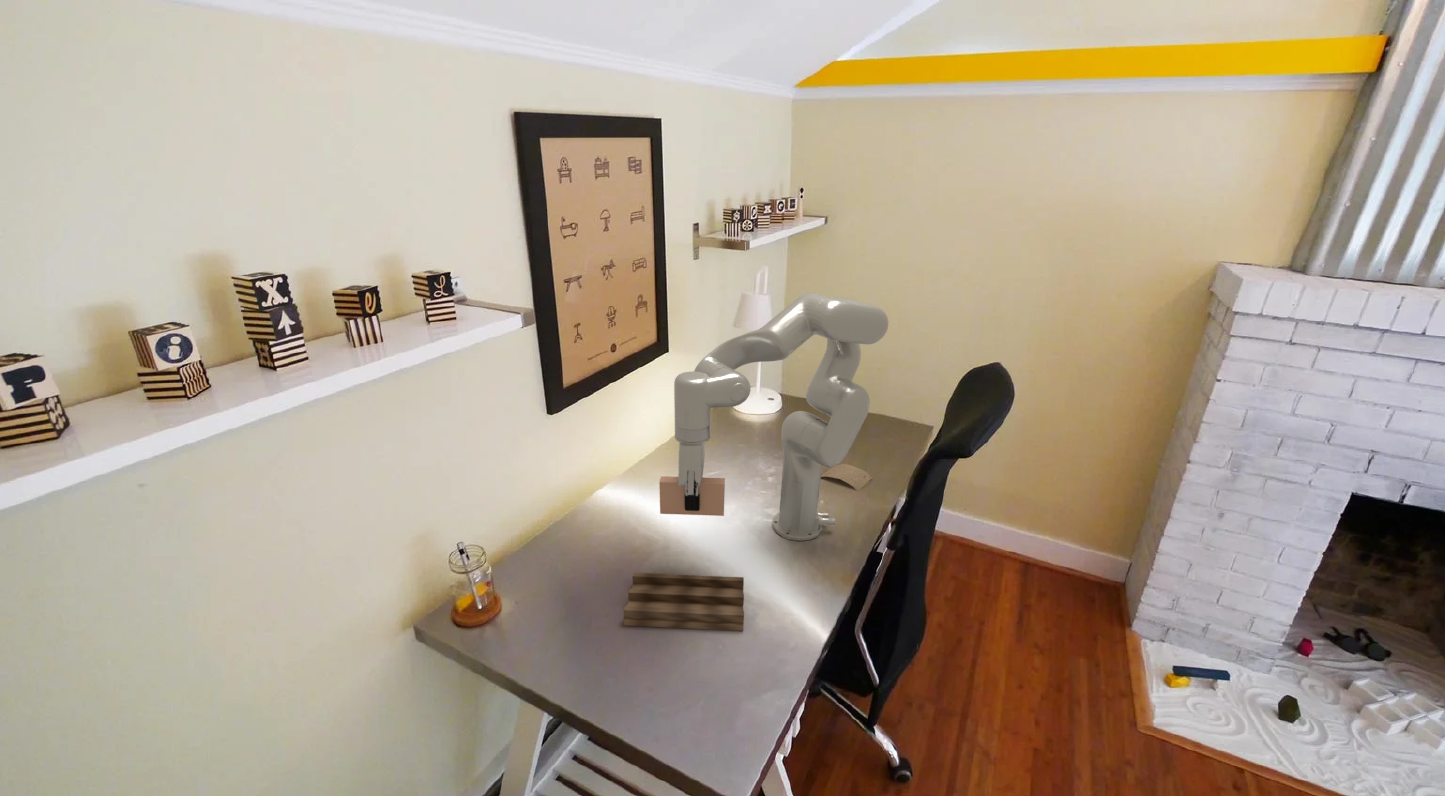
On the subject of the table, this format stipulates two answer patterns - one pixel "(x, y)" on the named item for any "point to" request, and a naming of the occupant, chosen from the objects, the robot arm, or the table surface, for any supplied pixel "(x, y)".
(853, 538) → the table surface
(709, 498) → the clay strip
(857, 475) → the tan curved panel
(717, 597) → the wooden stepped riser
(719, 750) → the table surface
